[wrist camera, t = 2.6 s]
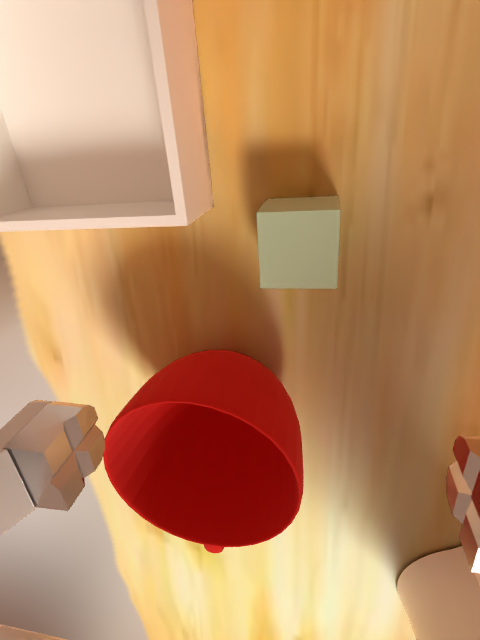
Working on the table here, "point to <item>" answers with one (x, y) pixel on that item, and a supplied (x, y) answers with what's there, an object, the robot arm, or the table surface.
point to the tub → (101, 115)
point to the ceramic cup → (210, 451)
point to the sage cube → (299, 242)
